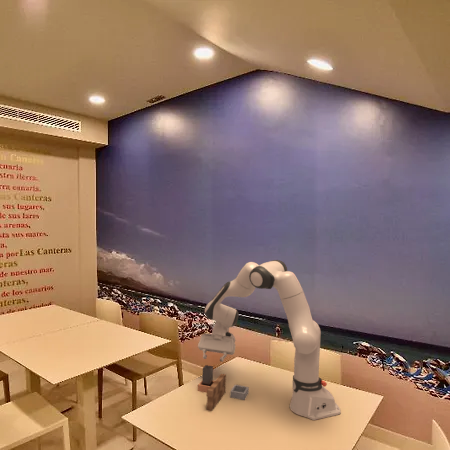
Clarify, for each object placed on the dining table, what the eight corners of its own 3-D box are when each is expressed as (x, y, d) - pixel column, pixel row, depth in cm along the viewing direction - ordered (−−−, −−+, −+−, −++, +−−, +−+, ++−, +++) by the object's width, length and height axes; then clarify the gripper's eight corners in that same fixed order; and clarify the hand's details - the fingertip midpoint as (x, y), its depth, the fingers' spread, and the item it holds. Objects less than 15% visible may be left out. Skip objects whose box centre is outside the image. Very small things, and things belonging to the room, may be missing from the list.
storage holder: (234, 390, 175) (234, 384, 175) (248, 393, 173) (248, 387, 173) (230, 397, 169) (230, 391, 169) (244, 400, 166) (244, 393, 166)
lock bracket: (203, 384, 181) (203, 378, 181) (216, 387, 179) (216, 381, 179) (197, 390, 174) (197, 384, 174) (211, 393, 172) (211, 387, 172)
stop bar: (205, 386, 179) (205, 365, 179) (212, 387, 178) (213, 366, 178) (202, 390, 175) (202, 368, 175) (209, 391, 174) (210, 369, 174)
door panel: (217, 391, 175) (218, 373, 174) (225, 392, 173) (225, 374, 173) (203, 409, 158) (204, 389, 158) (212, 411, 156) (212, 391, 156)
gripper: (200, 330, 193) (192, 354, 184) (236, 334, 187) (229, 359, 178) (203, 335, 198) (196, 359, 189) (238, 340, 191) (232, 365, 182)
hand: (212, 359), depth 183 cm, fingers open, 8 cm apart
